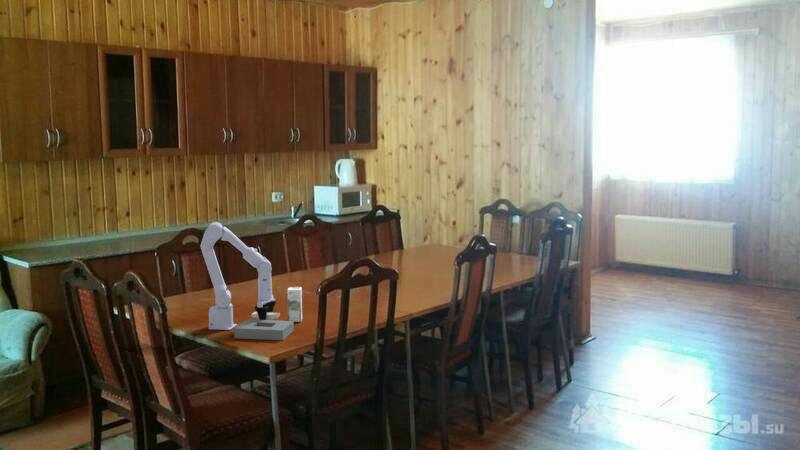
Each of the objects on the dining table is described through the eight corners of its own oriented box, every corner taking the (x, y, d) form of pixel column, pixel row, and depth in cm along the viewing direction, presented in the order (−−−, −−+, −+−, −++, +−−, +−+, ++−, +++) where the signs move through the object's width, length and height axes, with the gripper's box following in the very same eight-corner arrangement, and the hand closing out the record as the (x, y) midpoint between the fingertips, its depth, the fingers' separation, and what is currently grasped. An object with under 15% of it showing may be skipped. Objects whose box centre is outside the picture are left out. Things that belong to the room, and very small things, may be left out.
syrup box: (302, 318, 317) (301, 286, 315) (301, 322, 311) (300, 289, 309) (289, 319, 316) (288, 286, 314) (287, 322, 311) (287, 289, 309)
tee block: (251, 326, 305) (251, 314, 305) (255, 323, 309) (254, 311, 308) (277, 327, 303) (276, 315, 303) (280, 324, 307) (279, 312, 307)
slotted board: (234, 338, 288) (234, 328, 287) (247, 328, 301) (247, 319, 301) (283, 340, 285) (282, 330, 284) (293, 330, 298) (293, 321, 298)
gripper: (268, 292, 296) (269, 325, 298) (279, 285, 311) (280, 316, 312) (251, 292, 298) (253, 324, 299) (264, 284, 312) (265, 315, 314)
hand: (266, 320), depth 306 cm, fingers open, 7 cm apart
